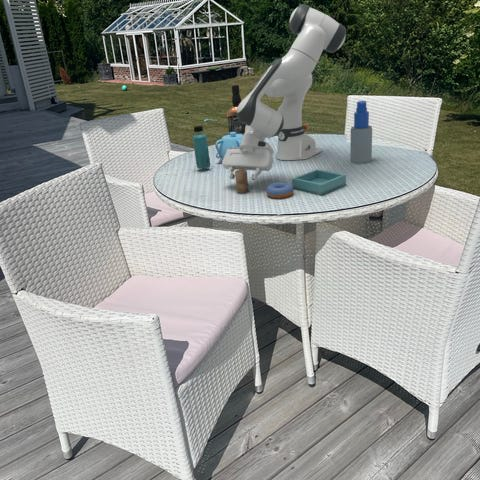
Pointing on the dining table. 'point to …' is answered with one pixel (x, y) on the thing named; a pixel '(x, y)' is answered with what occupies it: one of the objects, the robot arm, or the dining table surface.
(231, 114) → the whiskey bottle
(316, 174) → the box
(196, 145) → the beverage bottle
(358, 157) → the spray bottle
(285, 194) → the doughnut
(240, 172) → the brown wooden cylinder
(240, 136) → the decorative pot
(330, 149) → the dining table surface
